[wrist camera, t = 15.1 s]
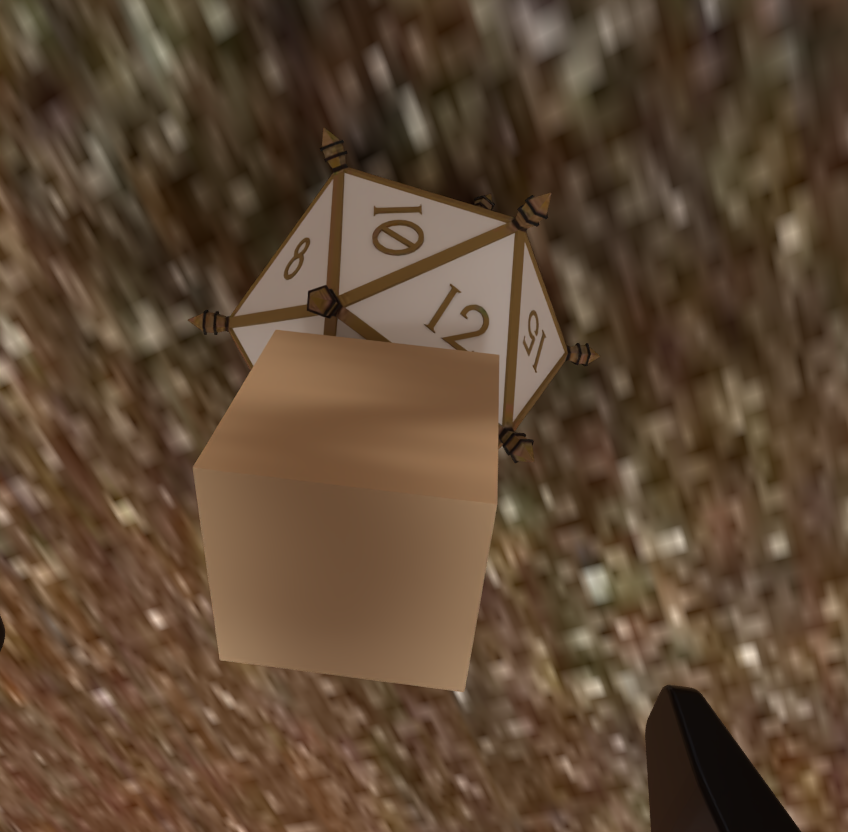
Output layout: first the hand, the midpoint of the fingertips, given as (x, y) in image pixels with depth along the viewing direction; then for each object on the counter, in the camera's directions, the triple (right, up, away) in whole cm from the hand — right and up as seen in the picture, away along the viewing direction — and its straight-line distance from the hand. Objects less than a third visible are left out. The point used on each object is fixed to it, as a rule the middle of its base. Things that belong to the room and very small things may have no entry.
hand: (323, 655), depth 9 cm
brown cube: (+1, +3, +4) cm, 5 cm away
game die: (+1, +7, +11) cm, 13 cm away
